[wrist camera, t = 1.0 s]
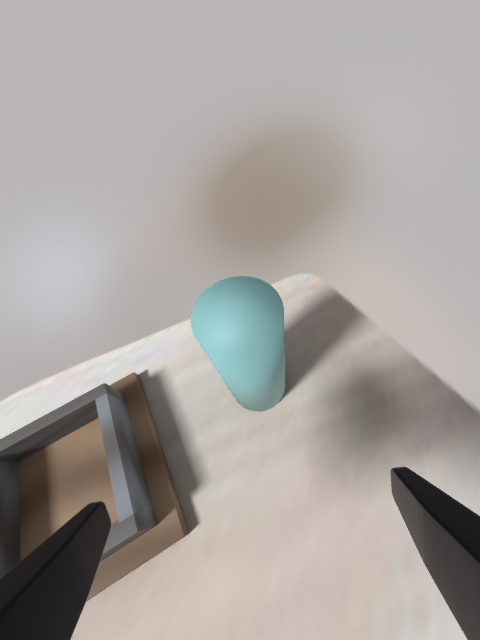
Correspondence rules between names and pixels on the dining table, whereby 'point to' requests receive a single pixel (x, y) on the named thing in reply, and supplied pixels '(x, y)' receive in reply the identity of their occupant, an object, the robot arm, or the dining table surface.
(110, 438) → the brown and grey tray
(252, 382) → the post
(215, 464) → the dining table surface
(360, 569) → the dining table surface
